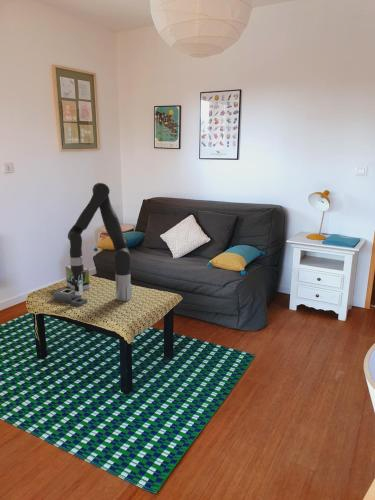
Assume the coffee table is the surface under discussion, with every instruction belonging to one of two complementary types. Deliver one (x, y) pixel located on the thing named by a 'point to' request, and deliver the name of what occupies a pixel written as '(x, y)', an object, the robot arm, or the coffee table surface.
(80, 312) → the coffee table surface
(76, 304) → the gray square frame
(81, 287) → the plug
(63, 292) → the port
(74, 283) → the robot arm
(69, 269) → the tea box
